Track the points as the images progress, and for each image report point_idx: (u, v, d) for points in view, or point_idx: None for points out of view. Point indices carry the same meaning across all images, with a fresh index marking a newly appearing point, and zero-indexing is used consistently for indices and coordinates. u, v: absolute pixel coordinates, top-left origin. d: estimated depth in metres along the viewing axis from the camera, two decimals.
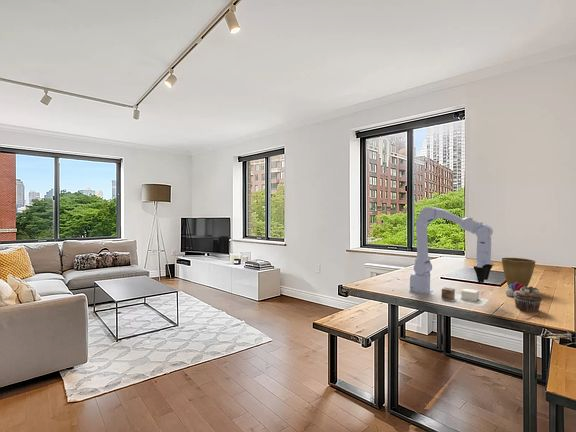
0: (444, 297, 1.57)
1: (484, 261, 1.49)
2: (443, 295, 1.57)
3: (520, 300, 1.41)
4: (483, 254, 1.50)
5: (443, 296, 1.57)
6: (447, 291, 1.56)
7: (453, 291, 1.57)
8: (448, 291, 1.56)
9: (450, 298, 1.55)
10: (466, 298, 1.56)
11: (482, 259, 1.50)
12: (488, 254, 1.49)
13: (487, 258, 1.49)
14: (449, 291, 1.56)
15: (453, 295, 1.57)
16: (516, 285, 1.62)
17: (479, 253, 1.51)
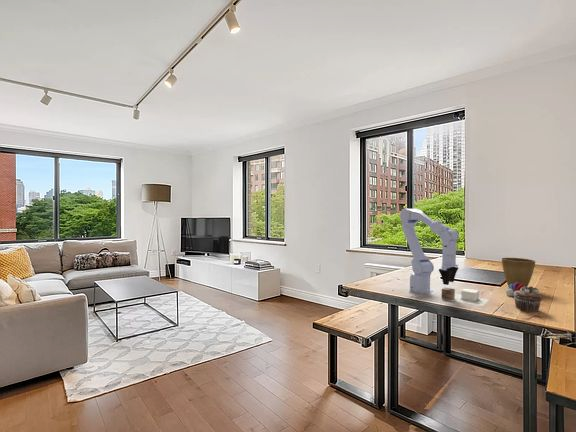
0: (444, 297, 1.57)
1: (449, 264, 1.55)
2: (443, 295, 1.57)
3: (520, 300, 1.41)
4: (448, 257, 1.55)
5: (443, 296, 1.57)
6: (447, 291, 1.56)
7: (453, 291, 1.57)
8: (448, 291, 1.56)
9: (450, 298, 1.55)
10: (466, 298, 1.56)
11: (447, 262, 1.55)
12: (453, 257, 1.55)
13: (452, 261, 1.55)
14: (449, 291, 1.56)
15: (453, 295, 1.57)
16: (516, 285, 1.62)
17: (444, 256, 1.56)
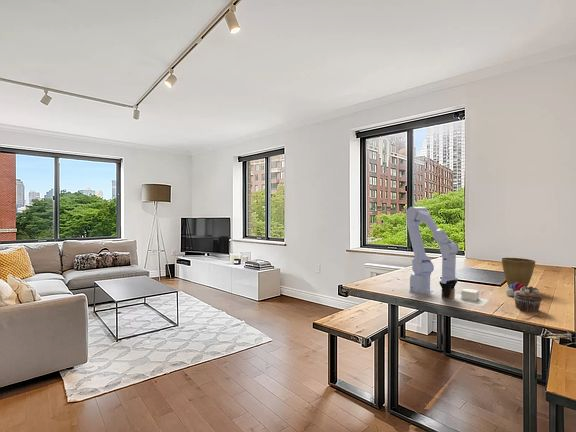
0: (444, 297, 1.57)
1: (448, 277, 1.55)
2: (443, 295, 1.57)
3: (520, 300, 1.41)
4: (447, 270, 1.55)
5: (443, 296, 1.57)
6: None
7: (453, 291, 1.57)
8: None
9: (450, 298, 1.55)
10: (466, 298, 1.56)
11: (447, 275, 1.56)
12: (452, 270, 1.55)
13: (451, 274, 1.55)
14: None
15: (453, 295, 1.57)
16: (516, 285, 1.62)
17: (444, 269, 1.57)
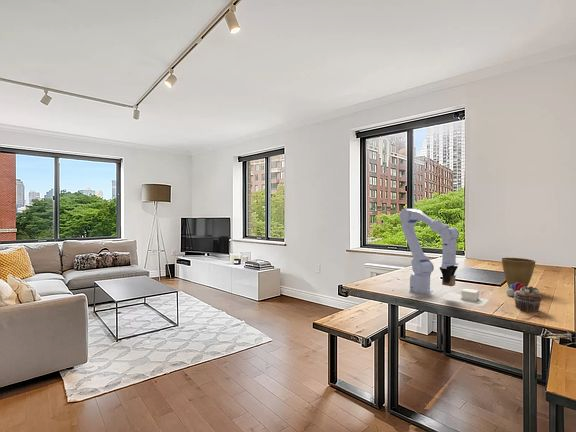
0: (445, 283, 1.57)
1: (449, 262, 1.55)
2: None
3: (520, 300, 1.41)
4: (448, 256, 1.55)
5: (444, 282, 1.57)
6: None
7: (454, 277, 1.56)
8: None
9: (451, 284, 1.55)
10: (466, 298, 1.56)
11: (447, 260, 1.55)
12: (453, 256, 1.55)
13: (452, 259, 1.55)
14: (450, 277, 1.55)
15: (454, 281, 1.57)
16: (517, 285, 1.62)
17: (444, 255, 1.56)
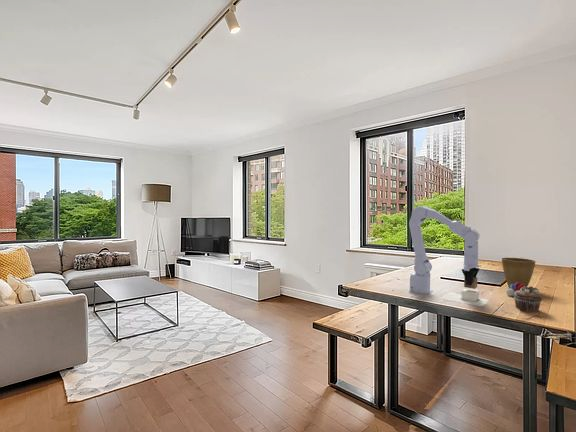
0: (467, 286, 1.56)
1: (471, 265, 1.54)
2: None
3: (520, 300, 1.41)
4: (470, 258, 1.54)
5: (466, 285, 1.56)
6: None
7: (476, 280, 1.56)
8: None
9: (473, 287, 1.54)
10: (466, 298, 1.56)
11: (469, 263, 1.54)
12: (475, 258, 1.54)
13: (474, 261, 1.54)
14: None
15: (476, 284, 1.56)
16: (517, 285, 1.62)
17: (466, 257, 1.55)
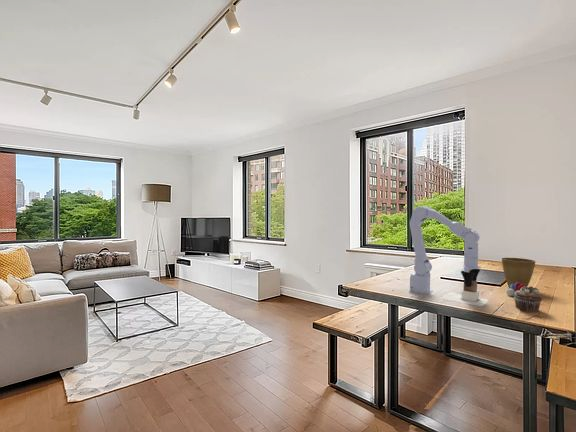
0: (466, 289, 1.56)
1: (471, 266, 1.54)
2: (465, 287, 1.56)
3: (520, 300, 1.41)
4: (470, 259, 1.54)
5: (465, 288, 1.56)
6: None
7: (475, 283, 1.56)
8: None
9: (472, 290, 1.54)
10: (466, 298, 1.56)
11: (469, 264, 1.55)
12: (475, 259, 1.54)
13: (474, 263, 1.54)
14: None
15: (475, 287, 1.56)
16: (517, 285, 1.62)
17: (466, 258, 1.55)
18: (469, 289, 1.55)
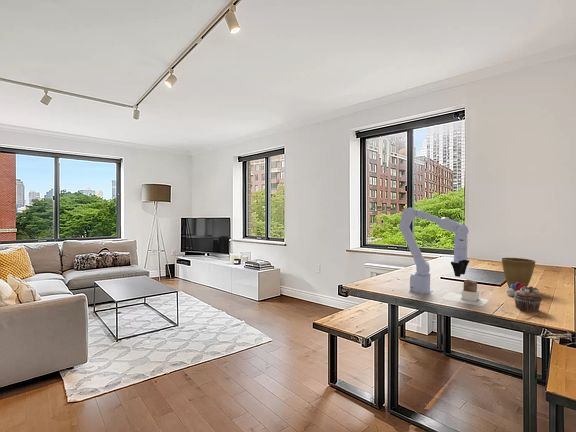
0: (466, 289, 1.56)
1: (460, 257, 1.62)
2: (465, 287, 1.56)
3: (520, 300, 1.41)
4: (460, 250, 1.62)
5: (465, 288, 1.56)
6: (469, 283, 1.55)
7: (475, 283, 1.56)
8: (470, 283, 1.55)
9: (472, 290, 1.54)
10: (466, 298, 1.56)
11: (459, 255, 1.62)
12: (464, 250, 1.61)
13: (463, 254, 1.61)
14: (471, 283, 1.55)
15: (475, 287, 1.56)
16: (517, 285, 1.62)
17: (456, 249, 1.63)
18: (469, 289, 1.55)
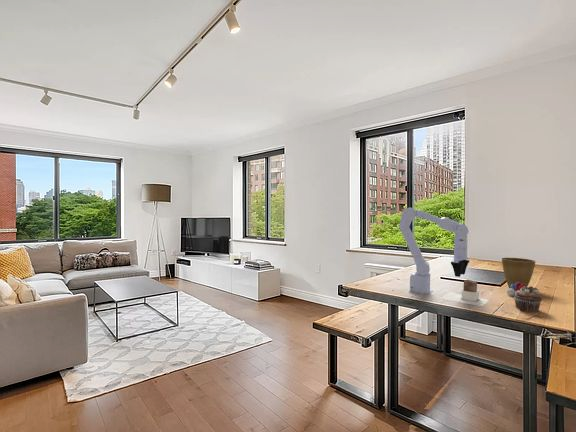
0: (466, 289, 1.56)
1: (460, 257, 1.62)
2: (465, 287, 1.56)
3: (520, 300, 1.41)
4: (459, 250, 1.62)
5: (465, 288, 1.56)
6: (469, 283, 1.55)
7: (475, 283, 1.56)
8: (470, 283, 1.55)
9: (472, 290, 1.54)
10: (466, 298, 1.56)
11: (459, 255, 1.62)
12: (464, 250, 1.61)
13: (463, 254, 1.61)
14: (471, 283, 1.55)
15: (475, 287, 1.56)
16: (517, 285, 1.62)
17: (456, 249, 1.63)
18: (469, 289, 1.55)
